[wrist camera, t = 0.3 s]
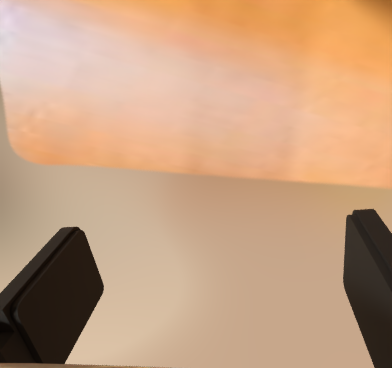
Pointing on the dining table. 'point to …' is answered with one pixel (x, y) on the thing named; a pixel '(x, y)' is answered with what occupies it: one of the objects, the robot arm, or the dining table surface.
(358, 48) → the dining table surface
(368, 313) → the robot arm
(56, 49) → the dining table surface
